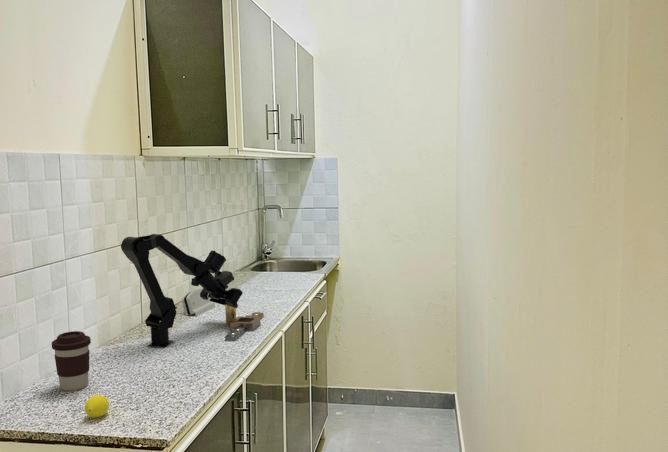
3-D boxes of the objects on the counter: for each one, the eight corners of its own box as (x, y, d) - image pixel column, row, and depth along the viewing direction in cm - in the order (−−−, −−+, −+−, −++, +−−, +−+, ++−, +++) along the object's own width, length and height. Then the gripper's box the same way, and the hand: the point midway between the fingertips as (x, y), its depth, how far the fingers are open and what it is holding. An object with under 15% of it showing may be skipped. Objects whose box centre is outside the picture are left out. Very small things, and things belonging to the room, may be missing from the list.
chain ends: (241, 341, 206) (241, 332, 206) (218, 340, 208) (217, 331, 208) (269, 316, 238) (269, 309, 238) (249, 315, 240) (248, 308, 239)
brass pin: (234, 325, 226) (233, 293, 225) (224, 325, 227) (223, 292, 225) (238, 322, 230) (236, 290, 229) (228, 322, 231) (227, 290, 229)
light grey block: (196, 316, 240) (188, 293, 240) (186, 319, 242) (178, 296, 242) (215, 306, 256) (207, 284, 256) (206, 309, 258) (198, 287, 258)
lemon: (93, 413, 151) (94, 391, 151) (114, 413, 150) (114, 392, 150) (78, 421, 144) (78, 398, 144) (99, 422, 143) (100, 399, 143)
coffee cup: (49, 386, 168) (45, 334, 166) (85, 377, 174) (81, 327, 173) (63, 396, 161) (59, 342, 159) (99, 386, 167) (95, 334, 166)
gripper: (237, 267, 217) (260, 292, 227) (204, 262, 229) (228, 286, 238) (221, 293, 212) (246, 316, 221) (188, 286, 223) (213, 309, 233)
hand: (233, 306), depth 229 cm, fingers closed on brass pin, 4 cm apart
